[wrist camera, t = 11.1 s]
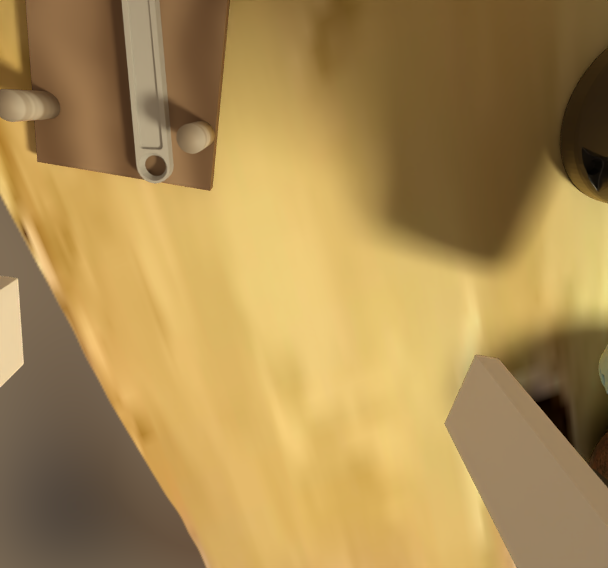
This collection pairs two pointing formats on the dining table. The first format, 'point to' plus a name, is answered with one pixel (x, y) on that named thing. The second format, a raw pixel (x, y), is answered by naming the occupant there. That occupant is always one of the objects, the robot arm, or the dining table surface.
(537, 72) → the dining table surface
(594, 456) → the pottery
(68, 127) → the rack
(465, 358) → the dining table surface
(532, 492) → the robot arm
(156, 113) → the adjustable wrench
